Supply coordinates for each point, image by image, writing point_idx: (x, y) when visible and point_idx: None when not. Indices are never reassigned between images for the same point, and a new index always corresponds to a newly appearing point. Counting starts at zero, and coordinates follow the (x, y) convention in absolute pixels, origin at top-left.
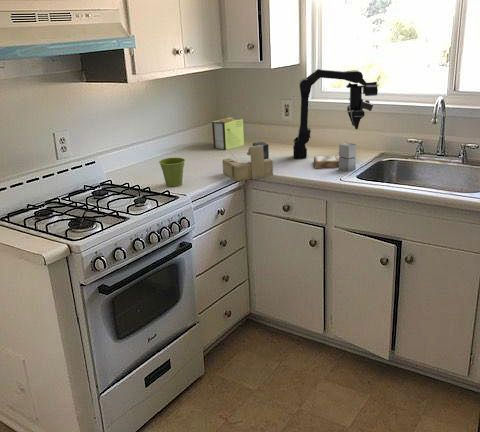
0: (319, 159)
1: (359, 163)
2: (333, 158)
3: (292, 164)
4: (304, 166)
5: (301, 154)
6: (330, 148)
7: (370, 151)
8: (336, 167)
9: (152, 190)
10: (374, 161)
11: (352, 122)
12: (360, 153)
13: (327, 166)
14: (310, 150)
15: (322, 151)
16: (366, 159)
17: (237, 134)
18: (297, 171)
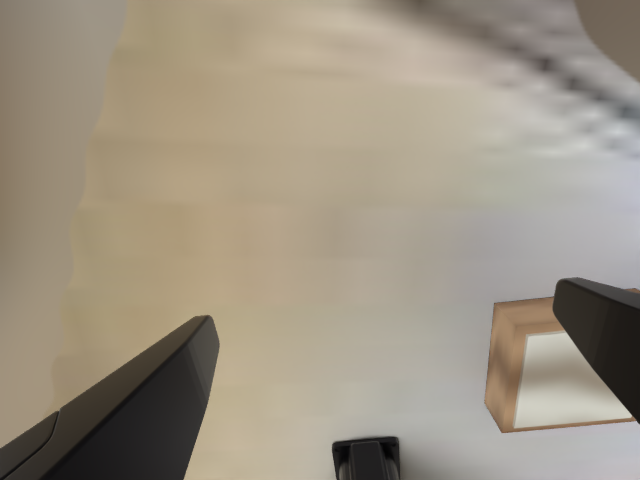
0: (593, 409)
1: (576, 158)
2: None
3: (498, 474)
4: (550, 433)
5: (397, 474)
6: (135, 334)
7: (188, 42)
8: None
9: None
10: (550, 29)
11: (199, 407)
12: (267, 138)
13: None
14: (205, 425)
15: (224, 373)
16: (469, 97)
17: None
18: (632, 452)
